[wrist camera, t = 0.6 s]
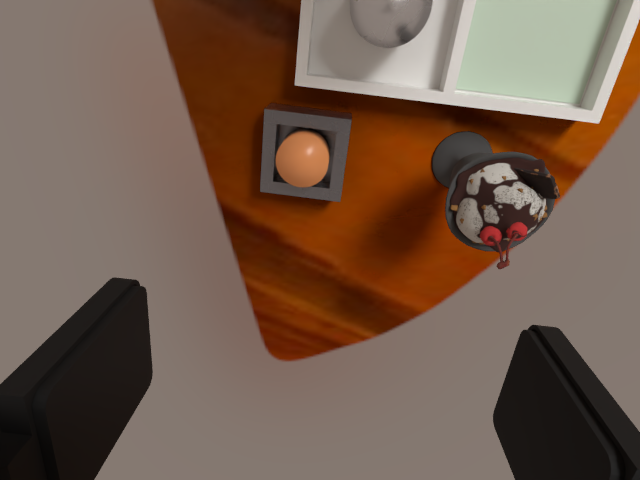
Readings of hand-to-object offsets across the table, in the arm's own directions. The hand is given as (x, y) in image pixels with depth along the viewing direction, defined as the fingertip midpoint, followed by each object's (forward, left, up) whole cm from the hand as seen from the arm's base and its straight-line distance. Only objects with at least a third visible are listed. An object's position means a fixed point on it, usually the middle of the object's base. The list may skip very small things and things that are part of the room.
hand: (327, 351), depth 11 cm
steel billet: (-9, +2, -27) cm, 28 cm away
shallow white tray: (-9, +7, -28) cm, 30 cm away
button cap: (+2, -3, -26) cm, 26 cm away
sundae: (+1, +10, -28) cm, 30 cm away
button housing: (+2, -3, -28) cm, 28 cm away
